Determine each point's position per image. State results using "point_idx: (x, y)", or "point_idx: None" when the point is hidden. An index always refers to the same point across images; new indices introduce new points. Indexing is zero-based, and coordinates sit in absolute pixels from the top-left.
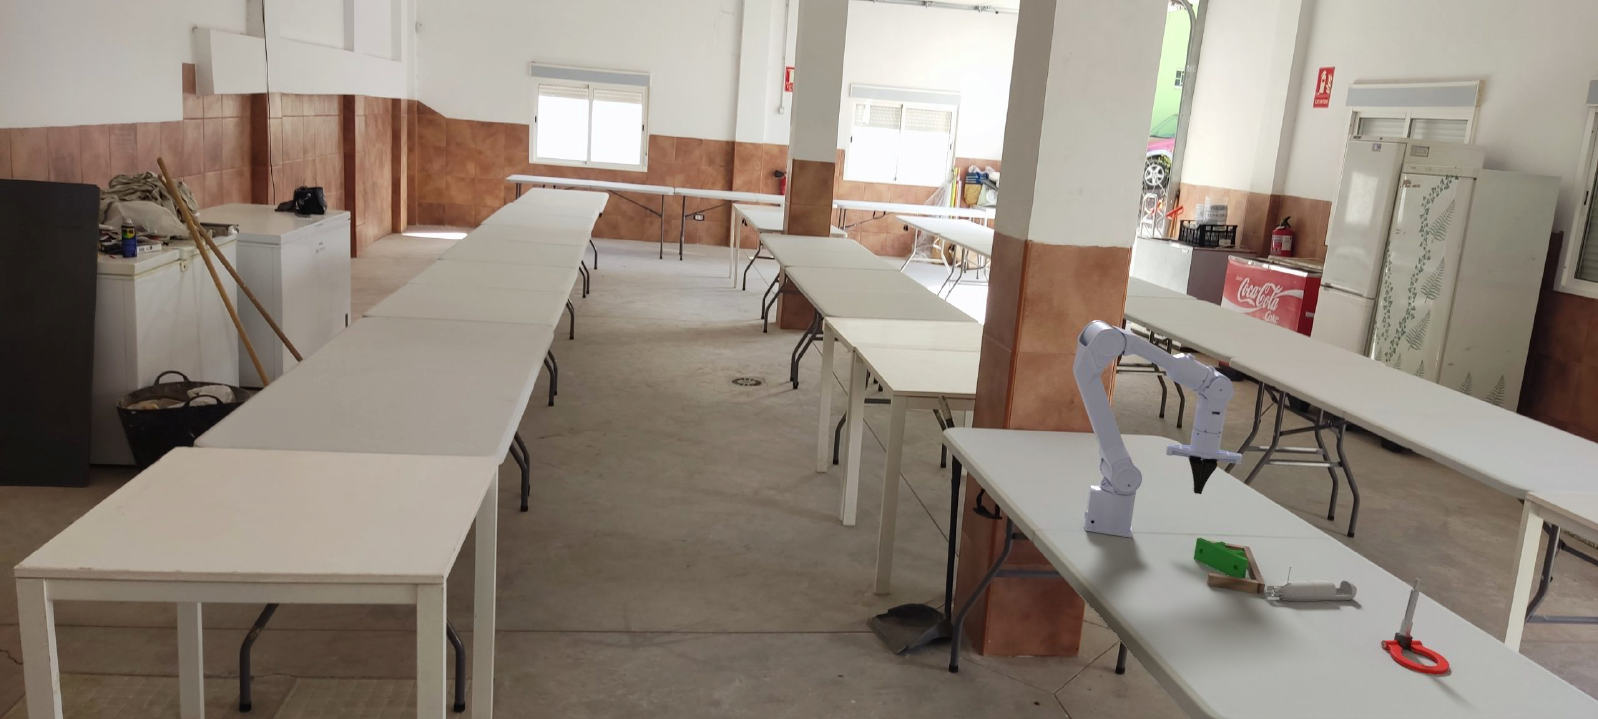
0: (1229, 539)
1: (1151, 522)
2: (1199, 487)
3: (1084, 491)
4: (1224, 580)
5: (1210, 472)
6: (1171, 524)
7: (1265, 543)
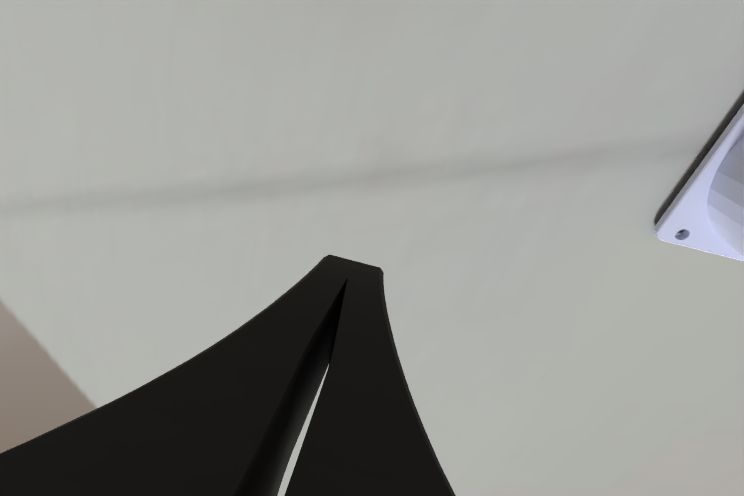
0: (226, 143)
1: (513, 277)
2: (341, 287)
3: (617, 482)
4: None
5: (99, 435)
6: (431, 267)
7: (86, 125)
